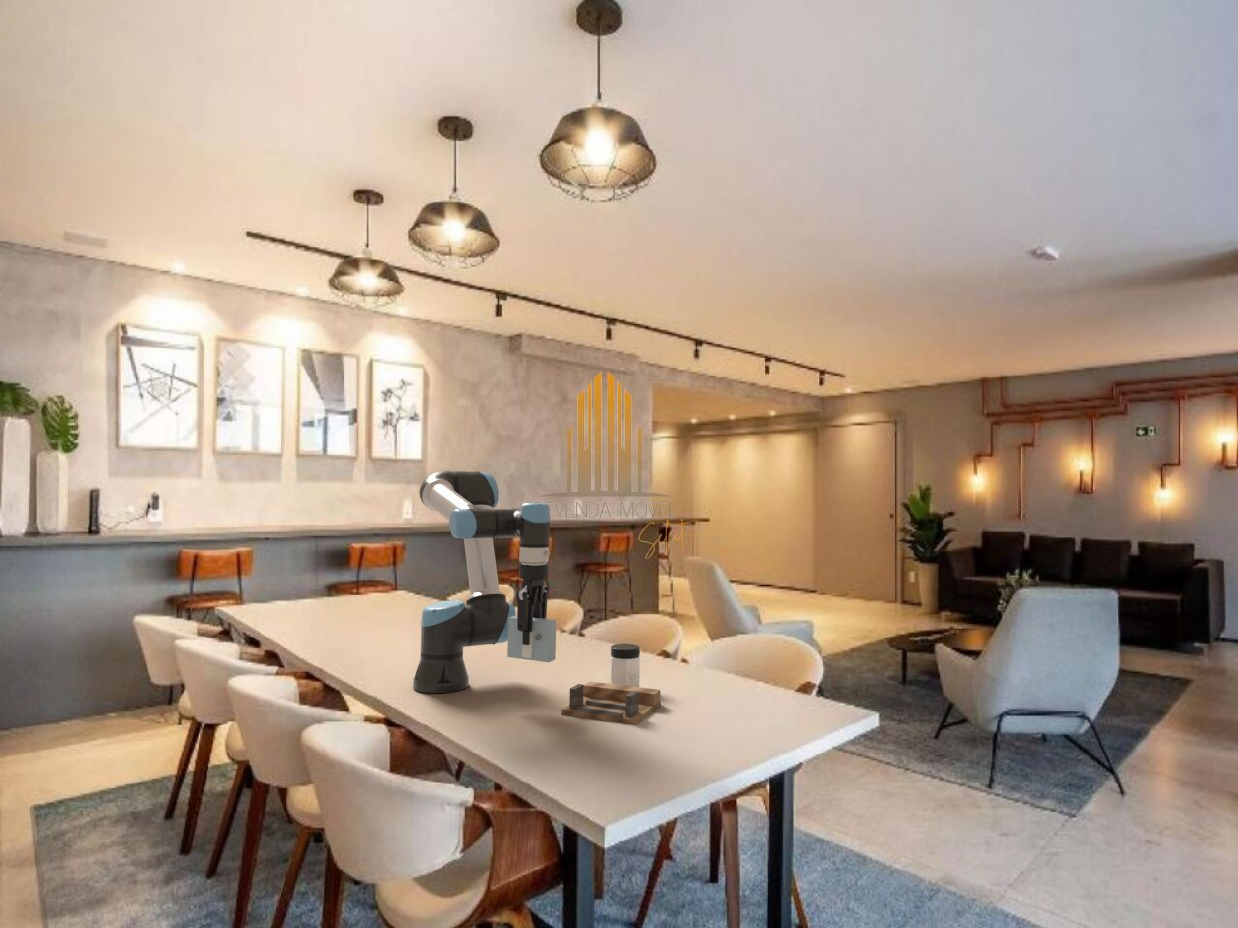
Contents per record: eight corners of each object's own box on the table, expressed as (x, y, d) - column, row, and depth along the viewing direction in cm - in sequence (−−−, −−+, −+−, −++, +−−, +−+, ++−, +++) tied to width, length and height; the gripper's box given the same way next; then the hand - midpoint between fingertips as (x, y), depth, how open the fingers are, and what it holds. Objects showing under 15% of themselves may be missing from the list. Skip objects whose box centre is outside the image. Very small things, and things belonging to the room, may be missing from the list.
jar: (619, 695, 196) (620, 650, 197) (603, 688, 203) (604, 645, 204) (646, 690, 201) (646, 647, 202) (629, 684, 208) (630, 642, 208)
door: (505, 657, 183) (506, 618, 184) (514, 653, 187) (515, 615, 188) (547, 663, 179) (548, 622, 179) (555, 659, 183) (556, 619, 183)
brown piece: (561, 714, 178) (561, 688, 179) (590, 695, 195) (591, 672, 195) (636, 724, 171) (637, 698, 171) (660, 704, 188) (661, 680, 188)
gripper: (531, 567, 175) (528, 664, 175) (561, 561, 191) (559, 650, 190) (504, 565, 178) (501, 660, 177) (536, 559, 193) (533, 647, 193)
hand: (531, 655), depth 184 cm, fingers closed on door, 3 cm apart
